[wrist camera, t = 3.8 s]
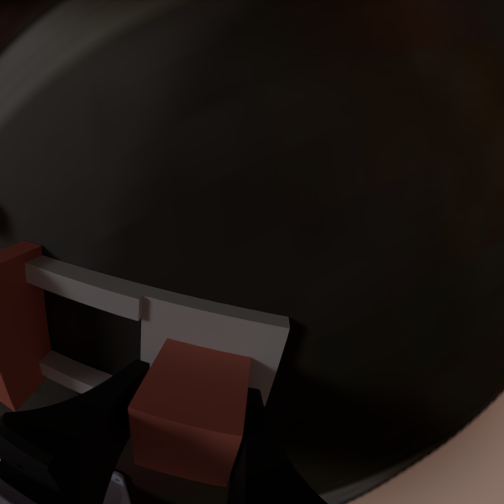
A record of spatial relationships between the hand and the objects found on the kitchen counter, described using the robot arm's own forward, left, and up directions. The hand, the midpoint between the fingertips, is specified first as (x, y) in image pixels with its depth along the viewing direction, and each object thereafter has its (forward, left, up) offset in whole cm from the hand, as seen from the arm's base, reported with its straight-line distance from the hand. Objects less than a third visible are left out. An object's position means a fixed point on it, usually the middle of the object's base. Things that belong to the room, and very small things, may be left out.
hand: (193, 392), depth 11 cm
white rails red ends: (0, +4, -2) cm, 4 cm away
